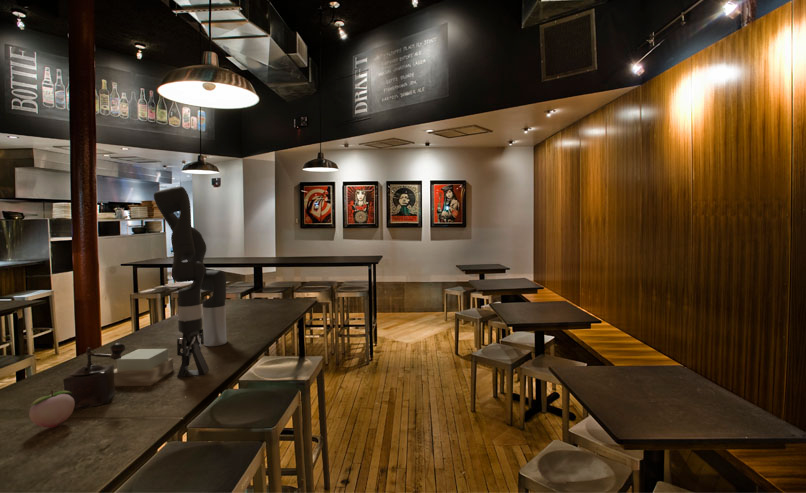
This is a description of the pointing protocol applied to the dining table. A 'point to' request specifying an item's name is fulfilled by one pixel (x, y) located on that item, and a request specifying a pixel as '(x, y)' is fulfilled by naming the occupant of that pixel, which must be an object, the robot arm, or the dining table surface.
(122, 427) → the dining table surface
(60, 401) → the decorative fruit
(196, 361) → the phone stand
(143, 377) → the tower base
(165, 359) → the tower top
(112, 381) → the manual coffee grinder
